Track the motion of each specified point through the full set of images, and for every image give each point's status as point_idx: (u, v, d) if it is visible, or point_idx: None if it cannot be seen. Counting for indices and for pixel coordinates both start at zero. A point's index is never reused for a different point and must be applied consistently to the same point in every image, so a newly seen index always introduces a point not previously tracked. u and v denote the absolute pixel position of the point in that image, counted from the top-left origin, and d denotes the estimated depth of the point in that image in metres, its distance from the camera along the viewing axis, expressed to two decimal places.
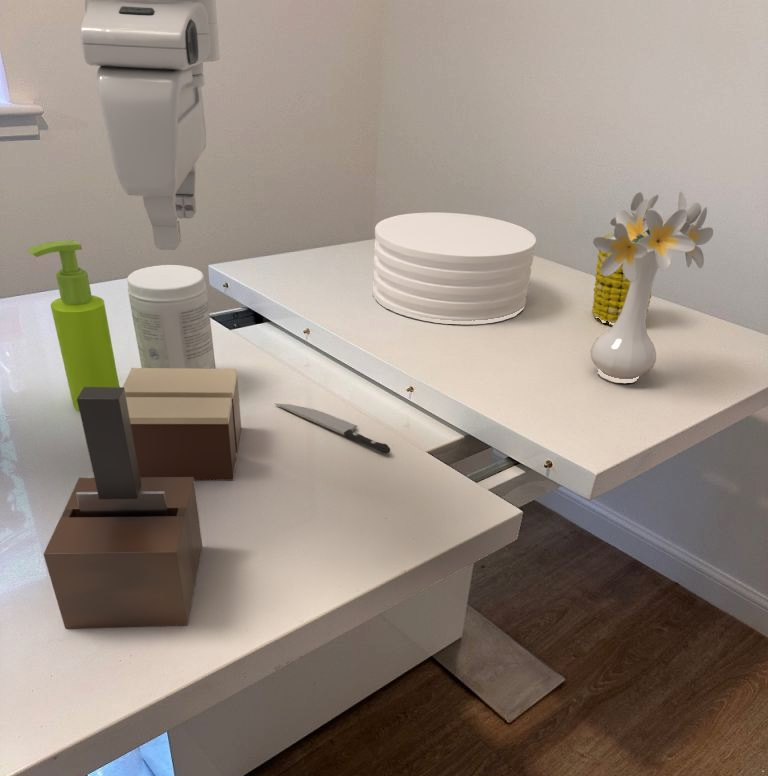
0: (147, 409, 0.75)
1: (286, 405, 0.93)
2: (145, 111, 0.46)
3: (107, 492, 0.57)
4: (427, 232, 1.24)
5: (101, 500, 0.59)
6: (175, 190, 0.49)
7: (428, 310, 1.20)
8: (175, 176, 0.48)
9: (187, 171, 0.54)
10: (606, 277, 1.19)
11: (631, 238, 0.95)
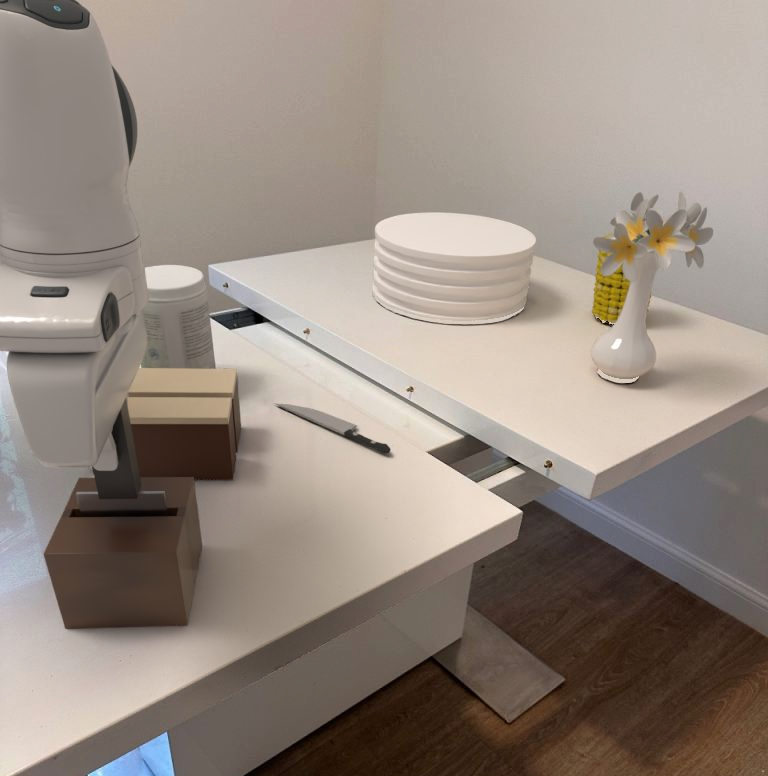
0: (147, 409, 0.75)
1: (286, 405, 0.93)
2: (58, 397, 0.43)
3: (107, 492, 0.57)
4: (427, 232, 1.24)
5: (101, 500, 0.59)
6: (96, 460, 0.46)
7: (428, 310, 1.20)
8: (94, 451, 0.46)
9: (116, 416, 0.51)
10: (606, 277, 1.19)
11: (631, 238, 0.95)
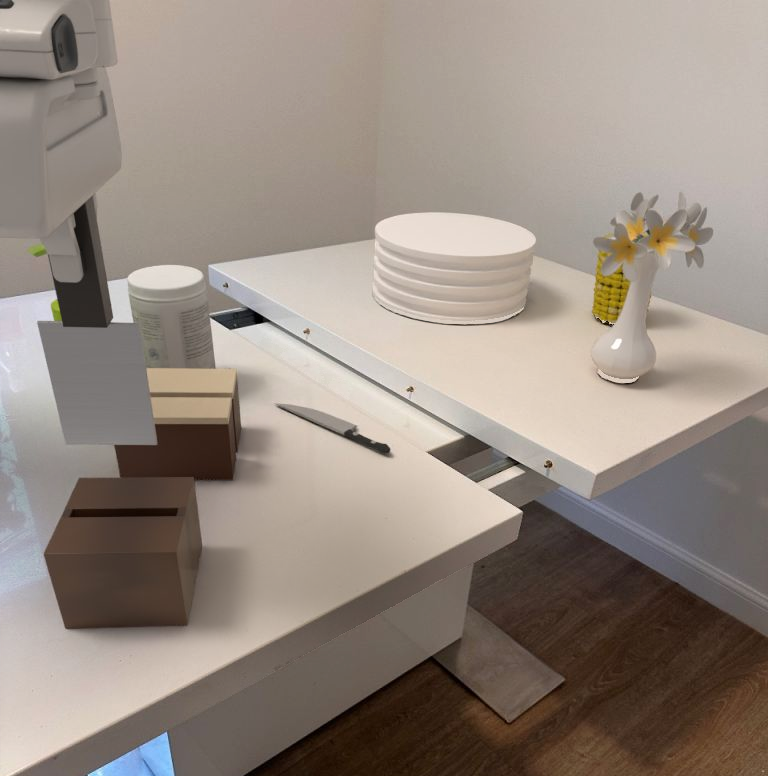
0: None
1: (286, 405, 0.93)
2: None
3: (72, 317, 0.50)
4: (427, 232, 1.24)
5: (67, 331, 0.51)
6: (49, 231, 0.39)
7: (428, 310, 1.20)
8: (46, 214, 0.38)
9: (78, 203, 0.43)
10: (606, 277, 1.19)
11: (631, 238, 0.95)
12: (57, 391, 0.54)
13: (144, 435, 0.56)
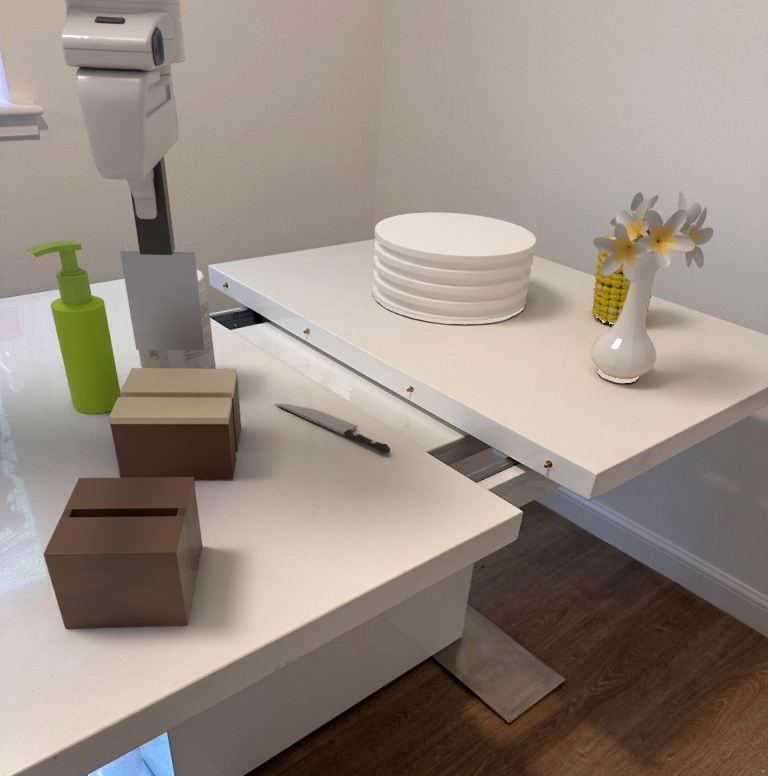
0: (147, 409, 0.75)
1: (286, 405, 0.93)
2: (117, 105, 0.54)
3: (147, 247, 0.68)
4: (427, 232, 1.24)
5: (141, 259, 0.69)
6: (145, 174, 0.57)
7: (428, 310, 1.20)
8: (144, 162, 0.56)
9: (157, 159, 0.62)
10: (606, 277, 1.19)
11: (631, 238, 0.95)
12: (132, 306, 0.72)
13: (195, 342, 0.75)
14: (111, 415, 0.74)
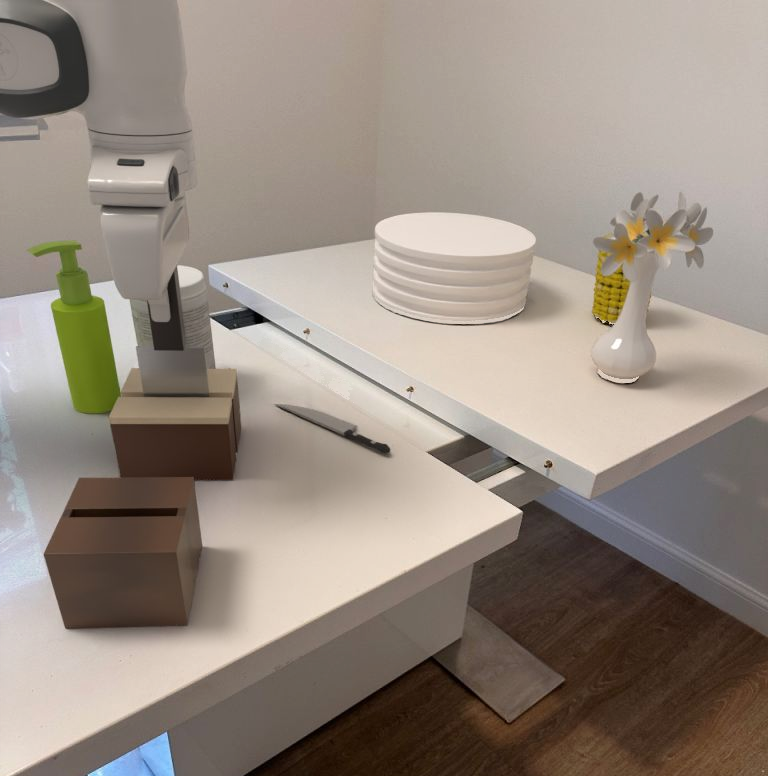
0: (147, 409, 0.75)
1: (286, 405, 0.93)
2: (137, 239, 0.59)
3: (161, 344, 0.74)
4: (427, 232, 1.24)
5: (155, 353, 0.75)
6: (161, 295, 0.63)
7: (428, 310, 1.20)
8: (161, 285, 0.62)
9: (172, 272, 0.67)
10: (606, 277, 1.19)
11: (631, 238, 0.95)
12: (146, 394, 0.78)
13: None
14: (111, 415, 0.74)
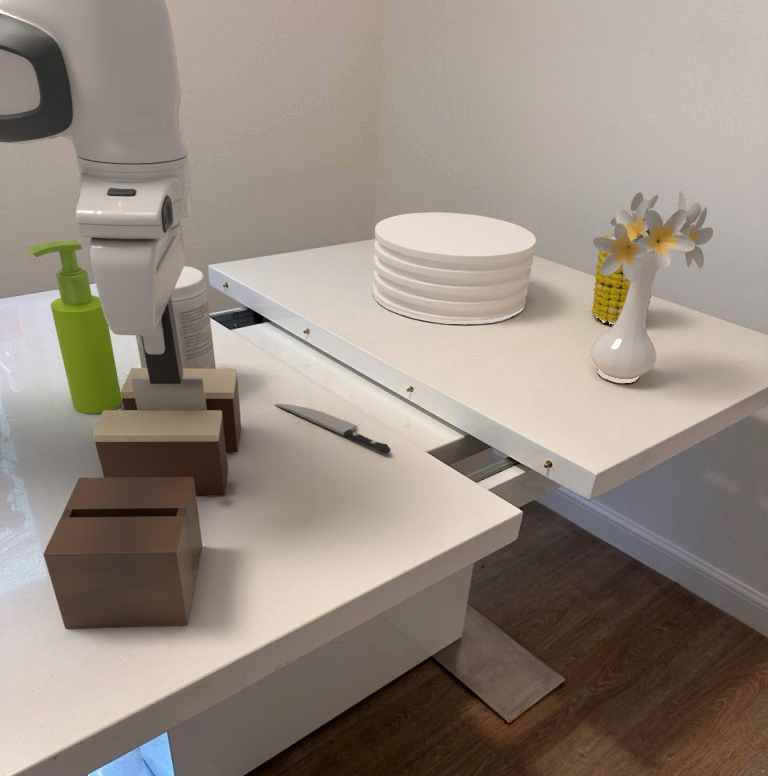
0: (133, 425, 0.72)
1: (286, 405, 0.93)
2: (128, 273, 0.56)
3: (157, 378, 0.71)
4: (427, 232, 1.24)
5: (151, 385, 0.72)
6: (154, 330, 0.59)
7: (428, 310, 1.20)
8: (154, 320, 0.59)
9: (166, 304, 0.64)
10: (606, 277, 1.19)
11: (631, 238, 0.95)
12: None
13: None
14: (96, 433, 0.70)
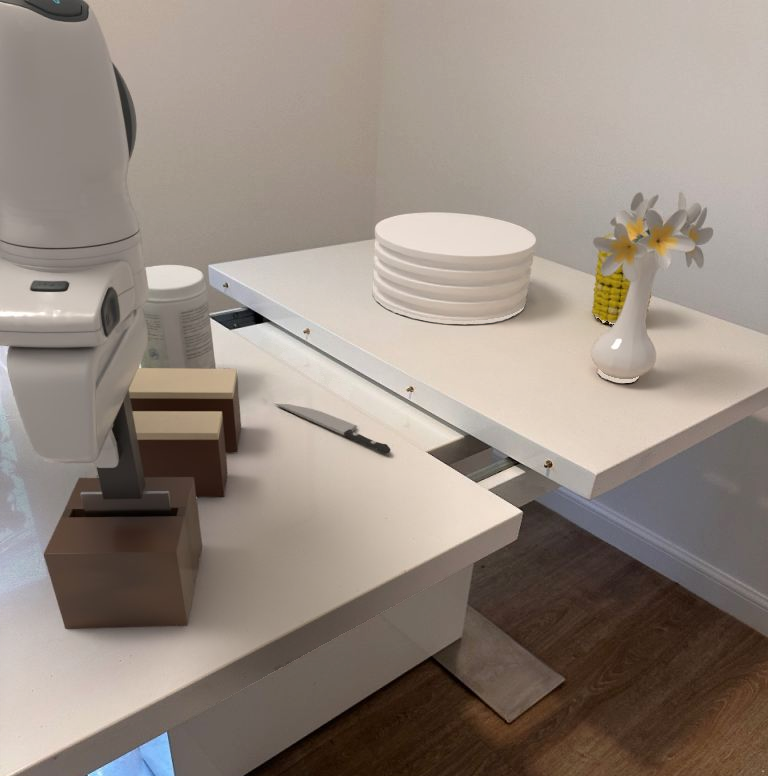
0: None
1: (286, 405, 0.93)
2: (59, 392, 0.43)
3: (111, 492, 0.57)
4: (427, 232, 1.24)
5: (106, 500, 0.59)
6: (97, 456, 0.46)
7: (428, 310, 1.20)
8: (95, 446, 0.45)
9: (117, 412, 0.51)
10: (606, 277, 1.19)
11: (631, 238, 0.95)
12: None
13: None
14: None
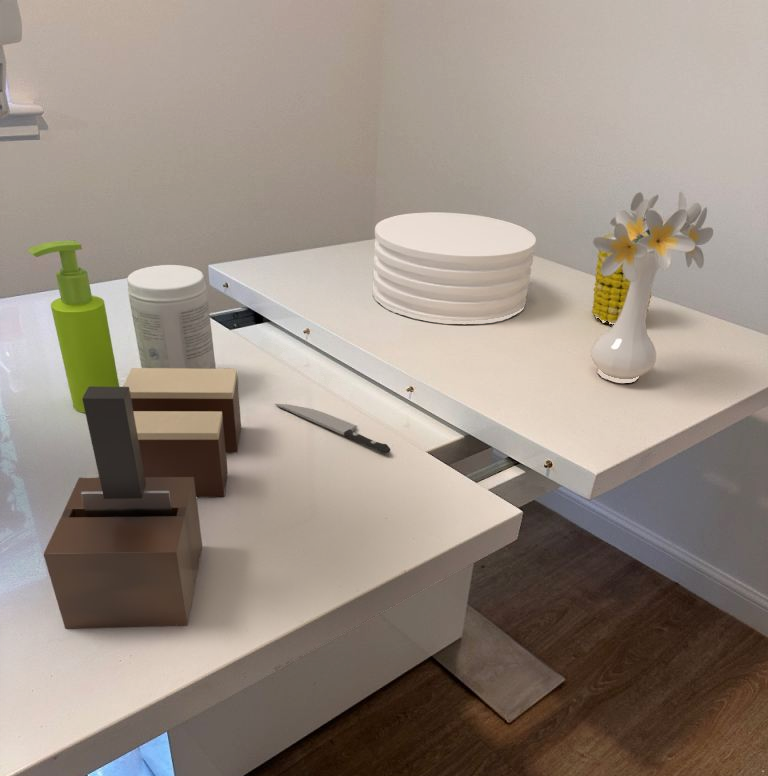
0: None
1: (286, 405, 0.93)
2: None
3: (112, 491, 0.57)
4: (427, 232, 1.24)
5: (106, 500, 0.59)
6: None
7: (428, 310, 1.20)
8: None
9: None
10: (606, 277, 1.19)
11: (631, 238, 0.95)
12: None
13: None
14: None
